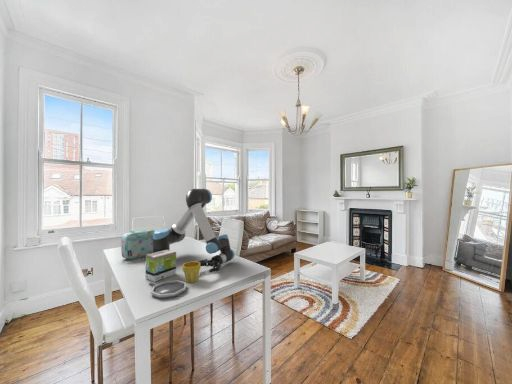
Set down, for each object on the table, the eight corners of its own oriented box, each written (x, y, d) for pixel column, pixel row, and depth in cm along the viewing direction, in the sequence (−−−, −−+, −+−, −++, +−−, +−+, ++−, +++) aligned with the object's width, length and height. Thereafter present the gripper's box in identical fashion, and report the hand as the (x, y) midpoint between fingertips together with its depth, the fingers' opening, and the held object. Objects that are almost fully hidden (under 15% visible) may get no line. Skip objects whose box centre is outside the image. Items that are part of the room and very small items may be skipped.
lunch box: (126, 262, 162) (126, 233, 162) (118, 259, 168) (118, 232, 167) (158, 253, 185) (158, 228, 185) (151, 251, 190) (151, 227, 190)
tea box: (155, 282, 127) (154, 257, 127) (145, 278, 133) (144, 254, 132) (176, 274, 140) (176, 251, 140) (166, 270, 145) (166, 248, 145)
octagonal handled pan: (135, 290, 117) (135, 286, 117) (162, 279, 132) (162, 275, 132) (166, 302, 105) (166, 297, 105) (192, 288, 120) (192, 284, 120)
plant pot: (178, 282, 127) (178, 265, 127) (190, 275, 137) (190, 260, 137) (193, 285, 124) (193, 268, 124) (204, 278, 133) (204, 262, 133)
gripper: (233, 268, 145) (212, 281, 127) (204, 262, 157) (182, 273, 139) (233, 257, 145) (212, 268, 126) (204, 252, 157) (181, 261, 138)
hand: (196, 271), depth 133 cm, fingers open, 13 cm apart
